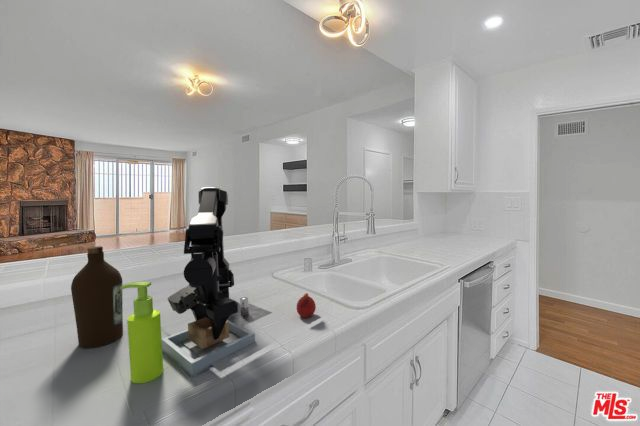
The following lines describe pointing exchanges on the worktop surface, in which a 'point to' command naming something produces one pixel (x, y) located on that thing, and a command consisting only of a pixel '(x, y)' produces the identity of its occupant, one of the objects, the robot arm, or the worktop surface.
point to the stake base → (249, 317)
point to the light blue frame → (200, 364)
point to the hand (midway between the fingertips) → (208, 334)
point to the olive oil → (97, 301)
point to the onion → (306, 306)
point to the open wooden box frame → (205, 333)
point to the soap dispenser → (144, 336)
